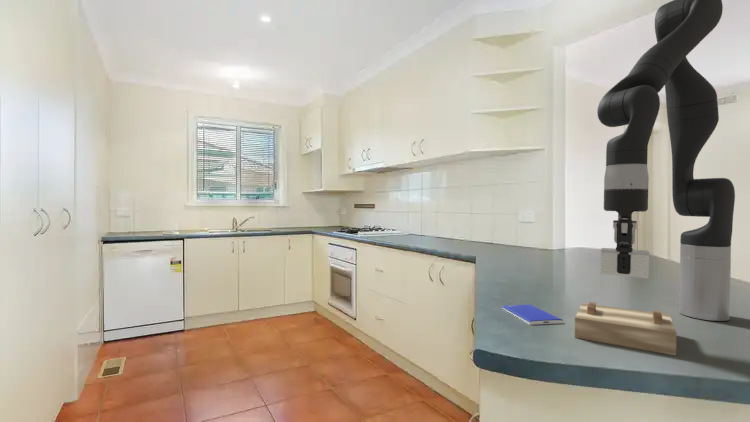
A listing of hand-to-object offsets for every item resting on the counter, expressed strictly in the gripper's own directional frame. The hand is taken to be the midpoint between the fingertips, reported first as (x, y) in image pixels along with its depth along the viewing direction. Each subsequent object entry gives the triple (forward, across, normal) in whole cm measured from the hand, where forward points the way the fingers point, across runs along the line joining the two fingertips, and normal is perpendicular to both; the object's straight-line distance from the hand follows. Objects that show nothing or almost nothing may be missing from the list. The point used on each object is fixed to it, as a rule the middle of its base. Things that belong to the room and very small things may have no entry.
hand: (623, 271), depth 77 cm
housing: (+1, 0, 0) cm, 1 cm away
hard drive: (+14, +4, +18) cm, 24 cm away
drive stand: (+13, 0, 0) cm, 13 cm away
